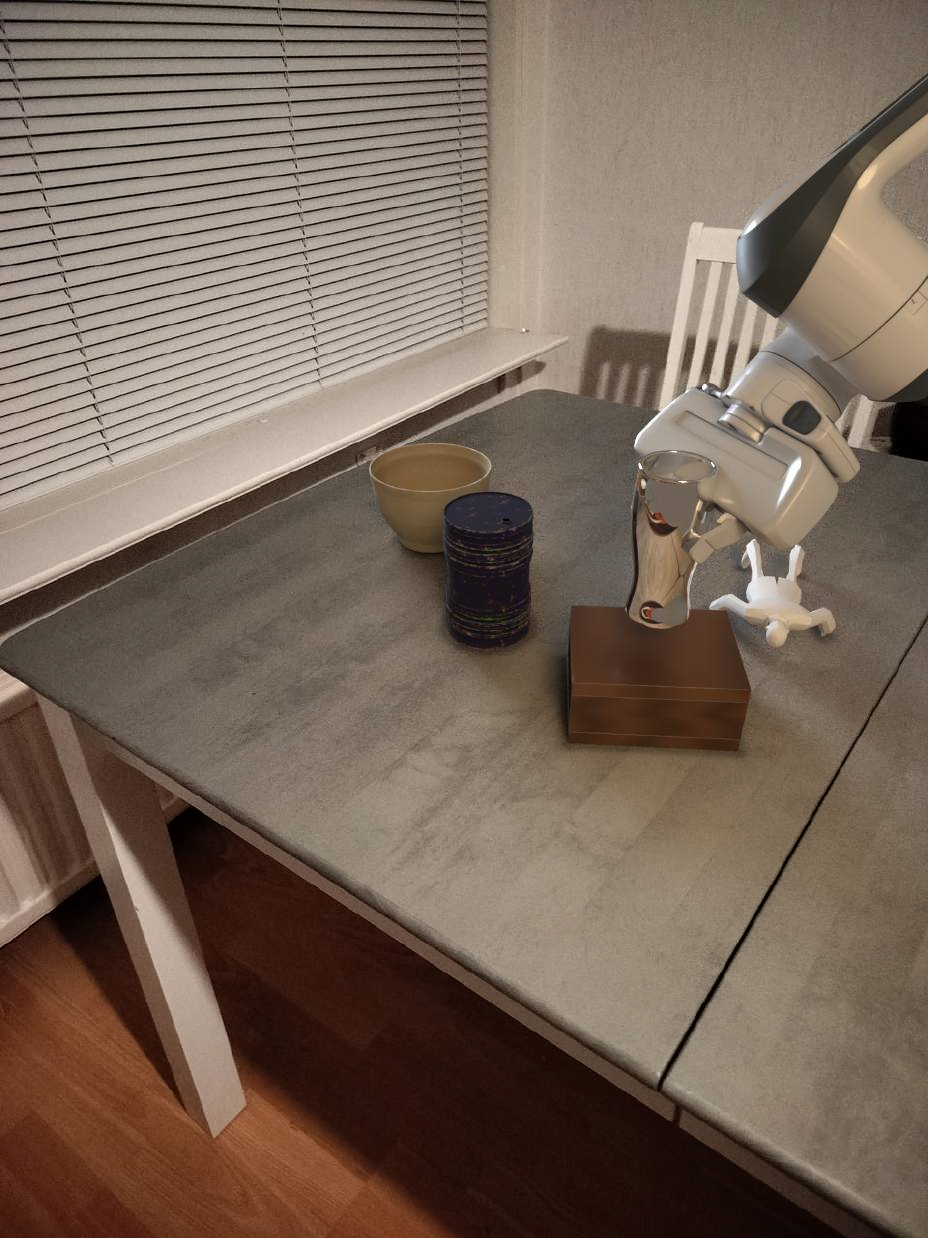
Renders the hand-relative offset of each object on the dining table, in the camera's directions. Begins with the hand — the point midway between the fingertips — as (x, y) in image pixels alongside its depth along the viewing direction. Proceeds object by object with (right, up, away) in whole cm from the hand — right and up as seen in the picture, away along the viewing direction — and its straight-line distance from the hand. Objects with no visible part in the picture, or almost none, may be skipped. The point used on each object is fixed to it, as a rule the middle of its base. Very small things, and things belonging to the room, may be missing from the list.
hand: (663, 536), depth 73 cm
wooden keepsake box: (+1, -16, +11) cm, 20 cm away
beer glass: (+1, -7, +5) cm, 9 cm away
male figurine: (+18, -8, +23) cm, 30 cm away
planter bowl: (-22, +4, +41) cm, 47 cm away
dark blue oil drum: (-15, -8, +23) cm, 29 cm away
